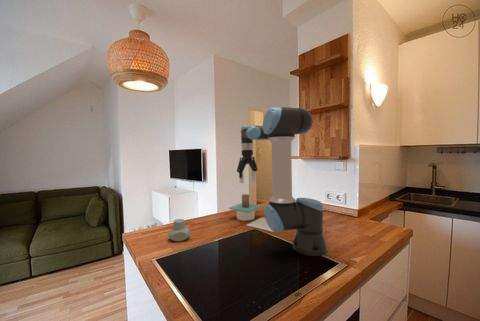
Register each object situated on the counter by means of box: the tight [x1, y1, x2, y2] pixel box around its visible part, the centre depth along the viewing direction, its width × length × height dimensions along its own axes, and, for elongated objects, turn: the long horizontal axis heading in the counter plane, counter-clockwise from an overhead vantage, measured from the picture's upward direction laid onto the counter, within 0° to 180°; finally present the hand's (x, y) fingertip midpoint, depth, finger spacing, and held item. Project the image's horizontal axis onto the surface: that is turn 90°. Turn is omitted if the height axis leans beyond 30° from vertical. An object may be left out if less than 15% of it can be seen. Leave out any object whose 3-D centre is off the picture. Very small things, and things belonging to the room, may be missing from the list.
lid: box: [228, 193, 263, 213], centre depth 146 cm, size 16×16×9 cm
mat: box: [246, 216, 274, 232], centre depth 134 cm, size 19×19×1 cm
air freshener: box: [168, 218, 191, 242], centre depth 113 cm, size 11×8×10 cm
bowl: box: [236, 210, 256, 222], centre depth 146 cm, size 12×12×7 cm
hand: (247, 181), depth 142 cm, fingers open, 13 cm apart
